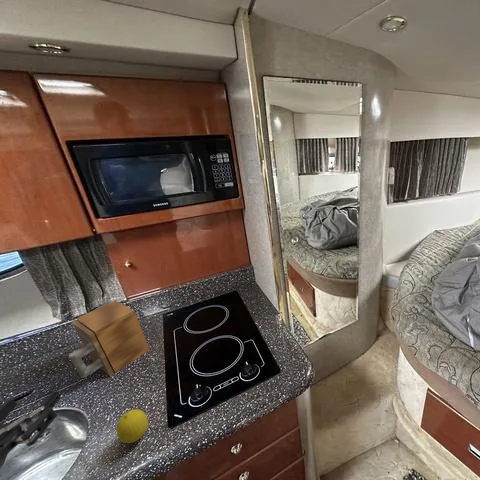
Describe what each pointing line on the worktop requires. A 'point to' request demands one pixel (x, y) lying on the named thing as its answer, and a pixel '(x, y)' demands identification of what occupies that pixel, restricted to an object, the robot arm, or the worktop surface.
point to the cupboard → (116, 333)
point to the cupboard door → (89, 348)
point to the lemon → (132, 426)
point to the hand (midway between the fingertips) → (35, 397)
